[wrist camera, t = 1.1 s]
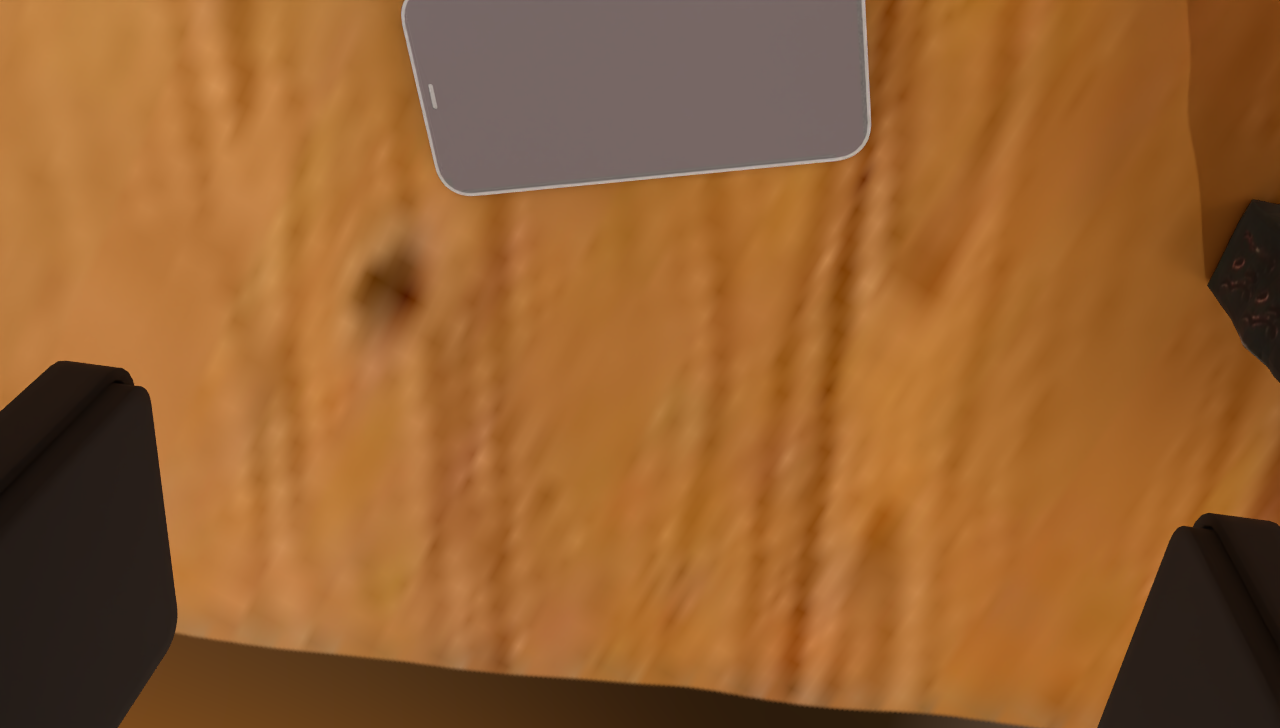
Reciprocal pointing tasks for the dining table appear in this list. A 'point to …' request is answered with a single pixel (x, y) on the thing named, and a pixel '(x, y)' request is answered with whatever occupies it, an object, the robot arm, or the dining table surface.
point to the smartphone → (634, 88)
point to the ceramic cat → (1253, 282)
